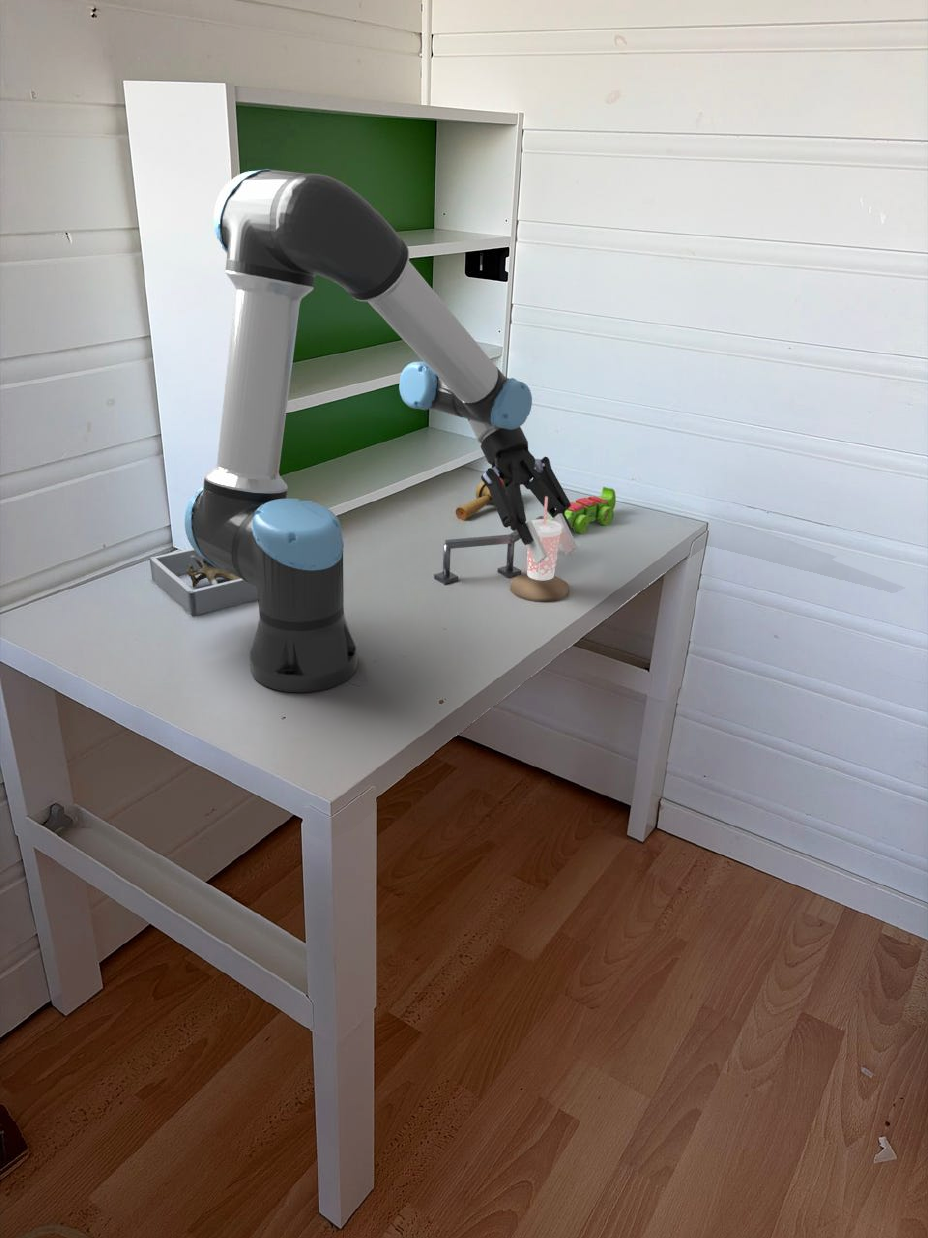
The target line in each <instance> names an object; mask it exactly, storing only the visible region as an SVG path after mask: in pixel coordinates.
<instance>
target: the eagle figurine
mask: <svg viewBox="0 0 928 1238" xmlns="http://www.w3.org/2000/svg"><path fill="white" fill-rule="evenodd" d="M191 558H192V559H193V561H194V562H195V563H196V564H197V565H198V566H199V567H200V568H199V569H198V570H194V567H193V565H191V566H190V565H187V564H186V565H187V566H188V567H189V571H188V570H187V575H188V576H189V578H190V580H191V583H192V584H191V585H192V587H193V588H194V587H196V586H197V585H198V583H200V582H201V581H202V580H205V579H207V581H208V582H209V583H210V585H211V586H212V585H216V584H219V583H218V581H217V579H225V580H227V581H232V580H236V579H240V578H239V577H237V576H235V575H233V574H231V573H229V572H227V571H225V570H223V569H221V568H217V567H215V566H214V565H212V564H211V563H209V562H208V561H207V560H206V559H203V562H202V561H200V560H198V559H197V558H196V557H195V556H191ZM196 576H197V577H196Z"/></svg>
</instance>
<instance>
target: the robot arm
mask: <svg viewBox="0 0 928 1238" xmlns="http://www.w3.org/2000/svg"><path fill="white" fill-rule="evenodd" d="M213 226H214V232H215V236H216V239H217V240H219V242H220V246H221V248H222V249H223V251H224V252H226V261H225V274H226V276H227V277H228V278H229V280H230V281H231V283H232V284H233V286H234V289H235V291H234V300H233V312H232V319H231V320H232V321H231V329H230V339H229V347H228V348H229V349H228V357H227V365H226V376H225V385H224V386H225V388H224V393H223V394H224V395H223V405H222V414H221V424H220V432H219V433H220V434H219V444H218V452H217V462H216V464H215V466H214V467H213V468H211V469H210V470H209V471H207V472H206V473H205V474H204V479H203V486H202V487H200V488H198V490H197V491H196V495H194V496H193V497H191V498H190V499H189V502H187V503H188V504H187V506H186V509H185V514H184V530H185V535H186V538H187V540H188V542H189V543H190V546H191V547H192V548H193V549H194V550H195V551H196V552H197V553H198V554H199V555H200V556H202V557H203V558H205V559H206V560H207V561H208V562H209V563H211V564H212V565H214V566H215V567H217V568H221V569H223V570H225V571H227V572H229V573H231V574H233V575H235V576H237V577H239V578H241V579H243V580H245V581H247V582H249V583H251V584H252V585H254V586H256V587H257V589H258V599H257V600H258V608H259V609H258V612H259V613H258V614H259V622H258V624H257V629H256V631H255V636H254V639H253V643H252V646H251V649H250V652H249V666H250V674H251V675H252V677H253V678H254V679H255V680H256V681H257V682H258V683H259V684H261V685H263V686H265V687H268V688H269V689H270V688H271V689H274V690H277V691H281V692H289V693H309V692H319V691H324V690H327V689H330V688H333V687H336V686H339V685H341V684H343V683H344V682H346V681H347V680H349V679H350V678H351V677H352V676H353V675H354V674H355V672H356V671H357V669H358V668H357V667H358V649H357V645H356V643H355V640H354V638H353V634H352V632H351V631H350V628H349V624H348V623H347V620H346V617H345V611H344V610H345V609H344V608H345V606H344V605H345V604H344V598H345V597H344V595H345V594H344V592H345V591H344V546H345V545H344V544H345V543H344V540H343V534H342V526H341V523H340V519H339V518H338V516H337V515H336V514H335V513H334V512H333V510H331V509H329V508H327V506H325V505H322V504H321V503H317V502H315V501H311V500H307V499H306V500H302V501H301V500H300V499H299V498H287V495H288V485H287V483H286V482H285V480H284V479H283V478H282V477H281V475H280V472H279V471H280V465H281V457H282V449H283V443H284V442H283V441H284V434H285V426H286V418H287V417H286V416H287V408H288V402H289V401H288V400H289V393H290V385H291V376H292V369H293V360H294V353H295V346H296V345H295V344H296V337H297V331H298V330H297V329H298V322H299V321H298V320H299V315H300V314H299V312H300V306H301V302H302V299H303V298H305V297H306V296H308V294H309V293H311V292H312V291H313V290H314V288H315V280H316V279H315V278H316V275H318V276H320V277H322V278H325V279H328V280H329V281H332V282H333V283H335V284H337V285H339V286H340V287H342V288H343V289H344V290H345V291H346V292H347V293H348V294H349V296H350V297H352V298H353V299H354V300H356V301H359V302H367V303H368V304H369V305H370V306H371V307H372V308H373V309H374V310H375V311H376V312H377V313H378V315H379V316H380V317H382V319H383V320H384V321H385V322H386V323H387V324H388V325H389V326H390V327H391V329H392V330H393V331H394V332H395V333H396V334H397V335H398V336H399V337H400V338H401V339H402V340H403V341H404V342H405V344H407V345H408V347H410V348H411V350H413V352H414V353H415V354H416V355H417V356H418V357H419V359H420V360H421V361H413V362H410V363H408V364H407V365H406V366H405V367H404V368H403V370H402V372H401V374H400V377H399V385H398V386H399V387H398V388H399V395H400V396H401V400H402V401H403V402H404V403H405V405H407V406H408V407H409V408H411V409H414V410H422V411H427V410H433V411H434V410H435V411H438V412H441V413H442V412H443V413H446V414H449V415H453V416H455V417H459V418H463V419H467V420H468V422H469V425H470V427H471V429H472V431H473V433H474V435H475V437H476V440H477V441H478V443H479V444H481V445H480V448H481V450H482V453H483V456H484V457H485V459H486V462H487V463H488V464H489V465H491V467H489V468H487V470H486V471H485V472H484V473H483V474H482V475H481V476H480V478H481V482H482V481H483V482H484V483H485V485H486V486H487V487H488V489H489V492H490V494H491V497H492V499H493V501H492V503H493V504H494V507H495V506H496V507H495V508H496V511H497V514H498V516H499V518H500V522H501V523H502V526H503V527H504V528H509V527H510V530H511V531H513V532H514V531H516V530H517V531H518V534H519V536H520V537H521V539H520V540H521V542H522V544H523V545H524V546H528V548H529V550H530V552H531V555H532V557H533V559H534V561H535V563H536V564H537V563H540V562H541V561H542V560H544V559H545V558H546V557H547V556H548V555H547V553H546V551H545V549H544V547H543V545H542V542H541V540H540V538H539V536H538V534H537V532H536V530H535V528H534V526H533V524H532V521H531V520H529V521H527V517H526V512H525V506H524V501H523V496H522V490H521V485H523V487H524V488H525V489H526V490H530V491H531V493H532V494H533V495H534V497H535V498H536V499H537V500H538V501H539V503H540V504H541V506H542V507H543V508H544V505H545V497H546V496H547V497H548V504H547V513H548V514H549V515H550V517H552V518H553V519H552V520H553V521H556V522H558V523H560V524H561V525H562V533H561V534H560V539H559V544H560V545H561V548H562V549H563V551H564V554H565V555H566V556H567V555H571V554H572V552H574V551H576V550H577V549H578V548H579V546H578V544H577V542H576V540H575V537H574V536H573V534H572V532H571V531H572V528H571V526H570V524H569V522H568V520H567V518H566V516H565V511H566V510H567V509H568V508H569V507H570V506H571V503H570V502H571V501H570V499H569V498H568V496H567V494H566V493H565V490H564V489H563V487H562V486H561V483H560V481H559V480H558V478H557V476H556V475H555V473H554V471H553V469H552V466H551V465H552V464H551V462H550V458H549V457H548V456H544V457H542V458H541V459H540V458H535V457H534V455H533V454H532V453H531V452H530V451H529V441H528V439H527V437H526V436H525V434H524V431H523V429H522V425H524V423H525V422H526V421H527V419H528V416H529V415H530V413H531V411H532V406H533V397H532V396H533V395H532V393H531V389H530V388H529V386H528V385H527V384H526V383H525V382H523V381H521V380H520V381H519V380H517V379H516V378H508V377H507V376H505V375H504V374H503V372H502V371H501V370H500V369H499V368H498V367H497V366H496V364H495V363H494V362H493V360H492V359H491V358H490V357H489V356H488V354H487V353H485V351H484V349H482V348H481V346H480V345H479V343H477V341H476V340H475V339H474V338H473V337H472V335H471V334H470V332H468V330H467V329H466V328H465V327H464V325H463V324H462V323H461V322H460V321H459V319H458V318H457V317H456V316H455V315H454V313H453V312H452V311H451V309H449V308H448V306H447V305H446V304H445V303H444V301H443V300H442V299H441V298H440V296H439V295H438V294H437V293H436V292H435V290H434V289H433V288H432V287H431V286H430V285H429V283H428V282H427V281H426V280H425V278H424V277H423V276H422V275H421V274H420V272H419V271H418V270H417V269H416V267H415V266H414V265H413V264H412V263H411V261H410V250H409V247H408V246H407V244H406V243H405V241H404V240H403V239H402V238H401V236H400V235H399V234H398V233H397V231H396V230H395V229H394V228H393V227H392V225H391V224H390V223H389V222H388V221H387V220H386V219H385V218H384V217H383V216H382V215H381V214H380V212H379V211H378V210H376V209H375V208H374V207H373V206H372V204H371V203H369V202H368V201H367V200H366V199H365V198H364V197H363V196H362V195H360V193H358V192H356V191H355V190H354V189H353V188H352V187H350V186H348V185H347V184H345V183H344V182H343V181H342V180H341V181H340V180H338V179H336V178H333V177H332V176H329V175H325V174H323V173H322V174H321V173H303V172H296V171H295V172H294V171H287V170H276V169H269V168H265V169H259V170H251V171H245V172H242V173H240V174H238V175H236V176H235V177H233V178H232V179H231V180H230V181H228V182H227V183H226V185H225V186H224V187H223V189H222V190H221V191H220V193H219V195H218V198H217V200H216V204H215V208H214V212H213ZM500 478H501V479H502V480H503V484H502V482H501V480H500ZM503 485H504V487H503ZM506 493H507V494H506Z"/></svg>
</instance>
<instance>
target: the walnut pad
mask: <svg viewBox="0 0 928 1238" xmlns="http://www.w3.org/2000/svg"><path fill="white" fill-rule="evenodd" d="M569 586H570V585H569V583H568V582H567V581H566V580H564V579H563V578H562V577H558V576H556V575H554V577H553V578H552V579H549V580H543V581H542V580H535V579H532V578H530V577H528V576H527V573H524V574H521V575H517V576H514V577H512V579H511V581H510V586H509V590H510V591H511V593H512V594H513V595H514V596H516V597H518V598H520V599H522V600H525V601H526V600H527V601H530V602H537V603H550V602H557V601H560V600H562V599H565V597H567V596H568V594H569V590H570V587H569Z"/></svg>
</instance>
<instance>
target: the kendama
mask: <svg viewBox="0 0 928 1238" xmlns="http://www.w3.org/2000/svg"><path fill="white" fill-rule="evenodd" d="M500 480H501V482H502V484H503V480H502V479H501V478H500ZM503 487H504V485H503ZM506 494H507V493H506ZM475 497H476V499H473V500H471V501H468V502H467V503H465V504H463V505H459V506H458V507H456V509H455V515H456V517H457V519H459V520H460V519H461V521H464V522H465V521H466V520H467V519H469V518H470V517H472V516H473V515H475V514H476V513H477V512H479V511H480V510H481V509H483V508H484V507H485V506H487V504H489V503H490V502H493V499H492V497H491V494H490V492H489V489H488V487H487V486H486V485H485V483H484V482H483V481H482V480H481V482H480V483H479V484H478V485H477V487H476V490H475ZM494 507H495V508H496V506H495V505H494Z"/></svg>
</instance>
